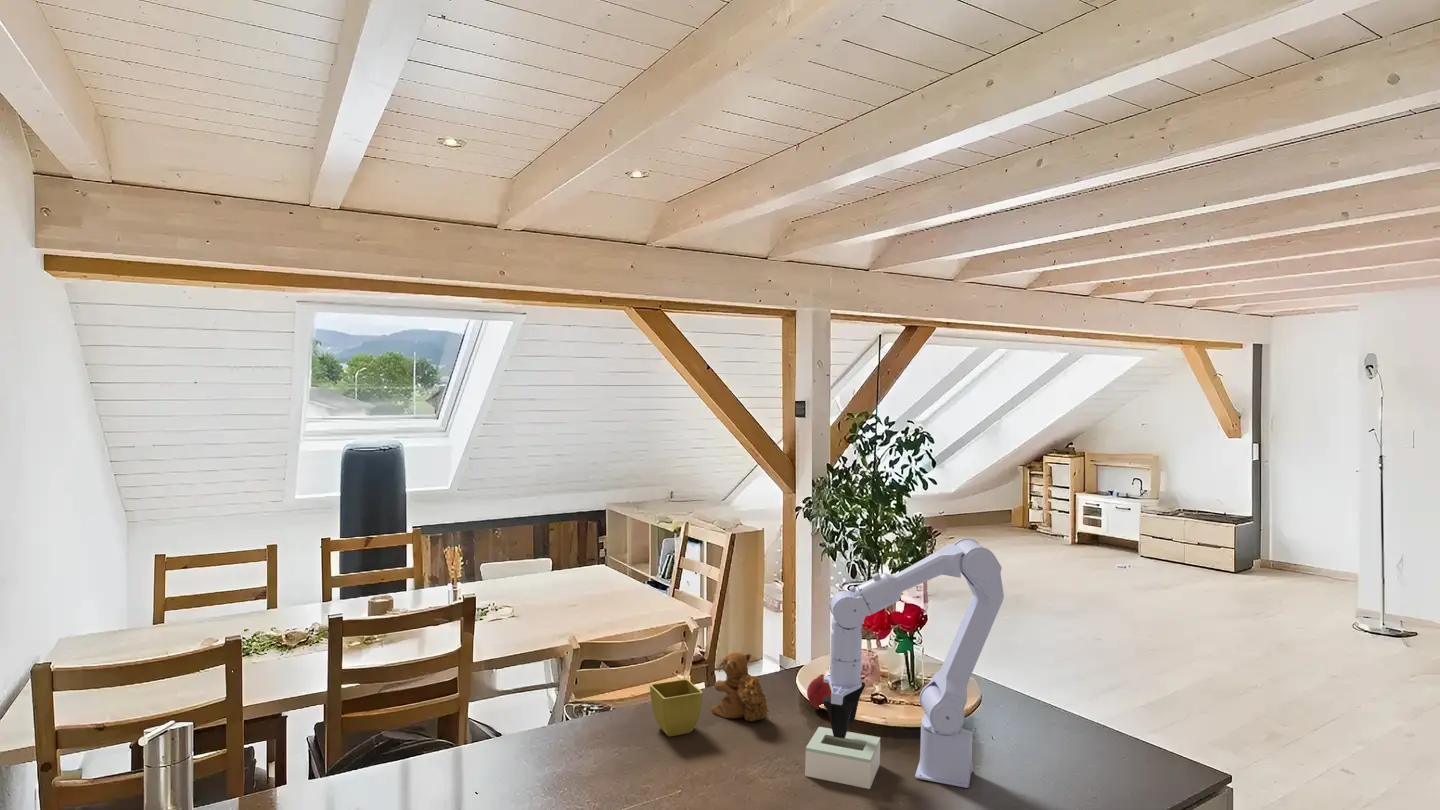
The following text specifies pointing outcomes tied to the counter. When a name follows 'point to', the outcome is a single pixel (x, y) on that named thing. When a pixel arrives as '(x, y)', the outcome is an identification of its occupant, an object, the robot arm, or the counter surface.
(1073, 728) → the counter surface
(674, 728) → the flower pot
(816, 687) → the onion
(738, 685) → the stuffed squirrel
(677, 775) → the counter surface
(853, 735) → the box
